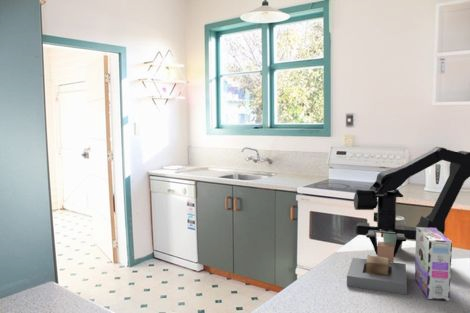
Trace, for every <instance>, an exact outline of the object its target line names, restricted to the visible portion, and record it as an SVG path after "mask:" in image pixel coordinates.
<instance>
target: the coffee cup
mask: <svg viewBox="0 0 470 313" xmlns="http://www.w3.org/2000/svg"><path fill="white" fill-rule="evenodd" d="M406 222H407V221H406V219H405V217H403V216H401V215H396V229H404V226H406V225H407V223H406ZM396 235H397V234H387V233H382V237H383V242H390V243H394V247H395V241H396ZM402 247H403V242H402V243H401V245H400V247H399V249H398V251H397V252H401V251H402Z"/></svg>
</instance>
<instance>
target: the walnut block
mask: <svg viewBox="0 0 470 313" xmlns="http://www.w3.org/2000/svg"><path fill="white" fill-rule="evenodd" d="M366 259H367V262H366V273H369V274H376V275H384V276H388V260H389V258H385V257H377V255H367V258H366Z"/></svg>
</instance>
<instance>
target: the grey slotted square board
mask: <svg viewBox="0 0 470 313" xmlns="http://www.w3.org/2000/svg"><path fill="white" fill-rule="evenodd" d="M366 262H367V258H360V257H352V258H351V262H350V264H349V268H348V271H347V273H346V274H347V275H346V286H347V287H353V288H359V289H366V290H367V289H368V290H372V291H373V290H374V291H379V292H386V293H393V294H394V293H395V294H400V295H401V294H402V295H407V288H408V286H407V284H408V283H407V280H408V279H407V264H406V263H400V262H388V276H384V275H376V274H369V273H366Z"/></svg>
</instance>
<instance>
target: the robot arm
mask: <svg viewBox="0 0 470 313" xmlns="http://www.w3.org/2000/svg"><path fill="white" fill-rule="evenodd" d="M441 161H444V162H448V163H449V175H448V178H447V179H446V182H444V186H443V187H442V189H441V191H440V193H439V196H438V197H437V200H436V202H435V203H434V206H433V208H432V209H431V211H430V213H429V214H428V215H427V216H423V215H421V217H420V219H419V222H418V223H417V224H416V225H415V226H416V227H426V228H437V229H438V230H439V231H440V232H441V233H442V234H443V235H445V232H446V220H447V218H448V216H449V214H450V211H451V209H452V208H453V205H454V203H455V202H456V200H457V198H458V195H459V193H460V191H461V190H462V187H463V186H464V183H465V182H466V181H467V180H468V179H469V178H470V151H465V150H460V151H456V150H455V151H454V150H451V149H447V148H446V147H442V146H441V147H440V146H436V147H433V148H432V149H430V150H429V151H427V152H425V153H423V154H421V155H420V156H418V157H416V158H414V159H412V160H410V161H407V162H406V163H404V164H403V165H401V166H398V167H394V168H393V167H392V168H389V169H385V170H382V171H381V172H379V173H378V174H377V175H376V180H375V181H374V182H373V184H372V185H371V186H370V188H369V189H361V188H360V189H359V188H357V189H355V193H354V196H353V206H354V210H356V211H373V210H375V209H377V211H376V212H375V211H374V212H373V222H376V224H377V225H376V226H372V225H370V222H362V221H361V222H360V221H359V222H357V225H356V228H355V234H356V235H362V236H365V237H366V238H367V239H369V240H370V242H371V245H372V246H373V249H374V252H375V256H377V248H378V239H377V233H378V234H383V233H387V234H397V235H396V241H395V247H394V258H396V256H397V254H398V252H399V251H398V249H399V247H400V245H401V243H402V244H403V242H407V240H413V241H414V240H415V241H416V227H415V226H407V225H405V226H404V229H396V216H397V198H404V195H403V194H402V193H401V192H400V191H399V190H400V189H398V188H400V187H401V186H402V185H403V184H404V183H405V182H406V181H407V180H408V179H410V178H411V177H413V176H415V175H416V174H418V173H420V172H421V171H423V170H426V169H428V168H430V167H432V166H433V165H435V164H437V163H439V162H441Z"/></svg>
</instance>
